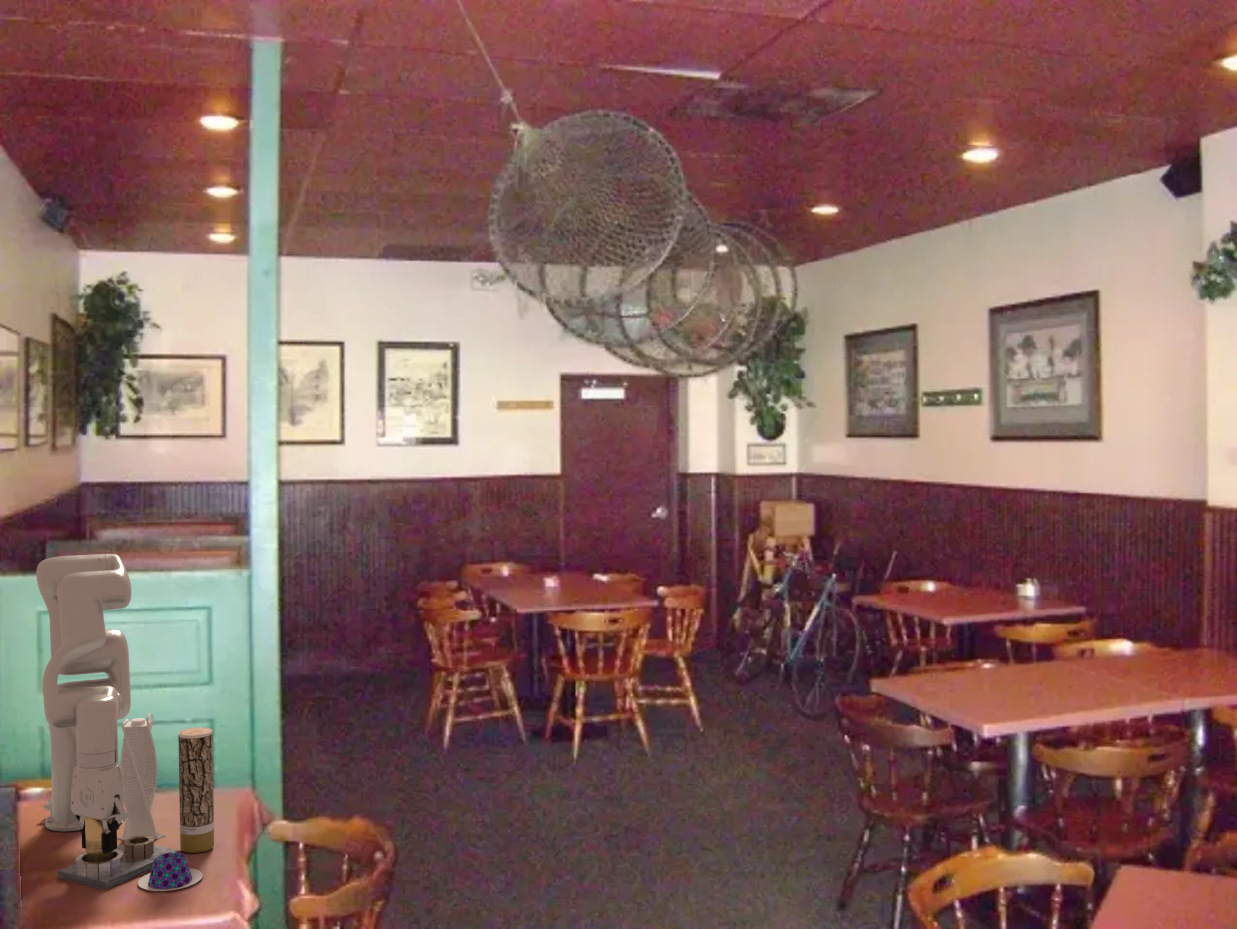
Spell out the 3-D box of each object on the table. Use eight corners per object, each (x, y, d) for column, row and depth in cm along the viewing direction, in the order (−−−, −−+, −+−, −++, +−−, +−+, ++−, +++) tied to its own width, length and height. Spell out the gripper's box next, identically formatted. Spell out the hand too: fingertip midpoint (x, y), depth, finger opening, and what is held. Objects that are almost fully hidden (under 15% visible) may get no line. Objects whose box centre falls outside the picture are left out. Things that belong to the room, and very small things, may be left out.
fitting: (80, 864, 252) (79, 814, 251) (100, 856, 256) (99, 807, 255) (98, 868, 249) (97, 818, 249) (118, 860, 254) (117, 811, 253)
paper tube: (203, 855, 264) (201, 736, 263) (173, 853, 265) (171, 735, 264) (220, 844, 271) (218, 728, 269) (191, 842, 272) (189, 726, 271)
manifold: (58, 878, 252) (57, 858, 251) (133, 847, 269) (133, 829, 268) (105, 889, 246) (105, 869, 246) (179, 857, 263) (179, 838, 263)
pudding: (141, 874, 255) (141, 848, 254) (204, 869, 258) (204, 843, 257) (134, 897, 243) (133, 870, 243) (200, 891, 246) (199, 865, 246)
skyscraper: (169, 839, 275) (167, 711, 273) (136, 850, 268) (133, 718, 266) (146, 831, 280) (144, 705, 278) (113, 841, 273) (110, 712, 271)
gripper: (51, 757, 252) (53, 848, 253) (113, 769, 244) (115, 862, 245) (82, 748, 259) (84, 836, 260) (144, 759, 251) (145, 849, 252)
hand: (99, 847), depth 253 cm, fingers closed on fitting, 4 cm apart
